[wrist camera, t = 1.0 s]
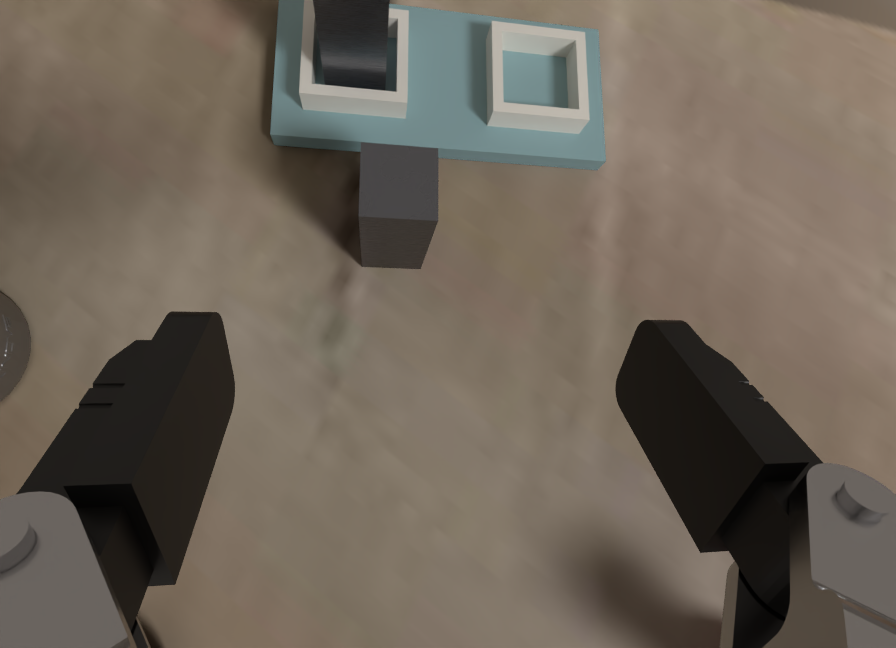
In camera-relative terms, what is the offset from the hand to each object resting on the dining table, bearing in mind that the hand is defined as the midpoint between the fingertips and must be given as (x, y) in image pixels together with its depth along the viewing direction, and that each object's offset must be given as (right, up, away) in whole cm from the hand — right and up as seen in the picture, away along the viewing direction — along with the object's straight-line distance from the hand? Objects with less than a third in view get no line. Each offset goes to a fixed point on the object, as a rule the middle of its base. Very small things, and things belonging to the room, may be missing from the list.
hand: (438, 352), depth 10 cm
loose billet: (-4, +7, +28) cm, 29 cm away
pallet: (0, +20, +30) cm, 36 cm away
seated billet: (-7, +20, +28) cm, 35 cm away
